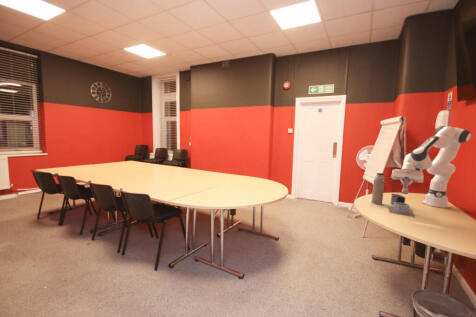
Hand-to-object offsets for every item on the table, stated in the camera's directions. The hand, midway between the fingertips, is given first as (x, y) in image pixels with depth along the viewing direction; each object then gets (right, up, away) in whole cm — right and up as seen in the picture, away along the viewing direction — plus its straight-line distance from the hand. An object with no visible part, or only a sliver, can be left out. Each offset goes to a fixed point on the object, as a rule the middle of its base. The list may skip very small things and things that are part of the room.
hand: (405, 184), depth 172 cm
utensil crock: (-1, -22, +4) cm, 22 cm away
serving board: (-1, -23, +4) cm, 24 cm away
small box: (+7, -22, +19) cm, 30 cm away
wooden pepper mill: (-8, -21, +24) cm, 33 cm away
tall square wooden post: (0, -7, +1) cm, 7 cm away
